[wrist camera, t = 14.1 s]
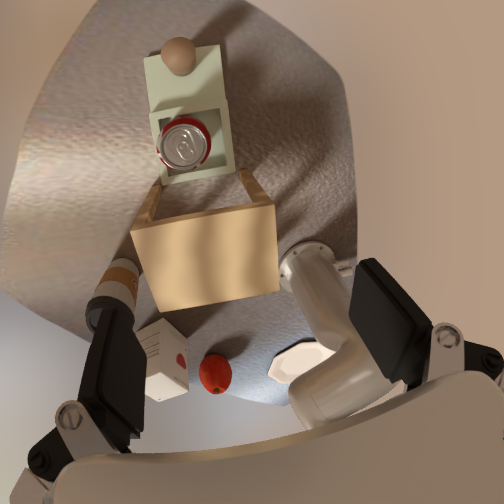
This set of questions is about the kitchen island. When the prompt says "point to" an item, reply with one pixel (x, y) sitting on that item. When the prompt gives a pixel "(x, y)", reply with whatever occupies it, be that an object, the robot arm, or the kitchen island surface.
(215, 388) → the apple
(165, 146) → the soda can
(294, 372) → the plate
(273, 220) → the wooden stool
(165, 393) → the supplement box
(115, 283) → the coffee cup
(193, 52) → the tan cylinder on base
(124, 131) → the kitchen island surface
